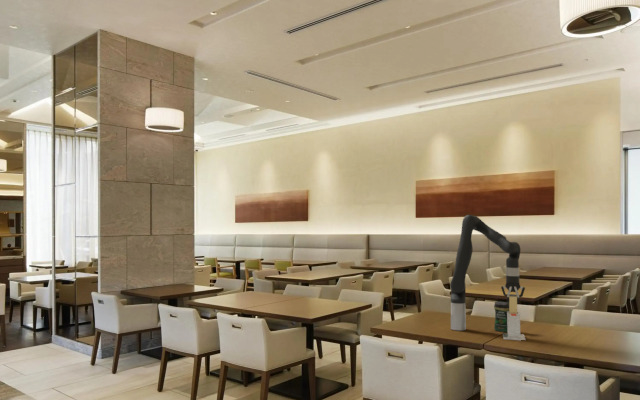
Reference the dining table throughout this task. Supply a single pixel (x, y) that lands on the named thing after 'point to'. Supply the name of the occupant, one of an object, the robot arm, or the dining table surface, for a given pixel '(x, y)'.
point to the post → (513, 303)
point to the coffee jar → (501, 316)
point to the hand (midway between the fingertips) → (513, 303)
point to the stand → (513, 327)
